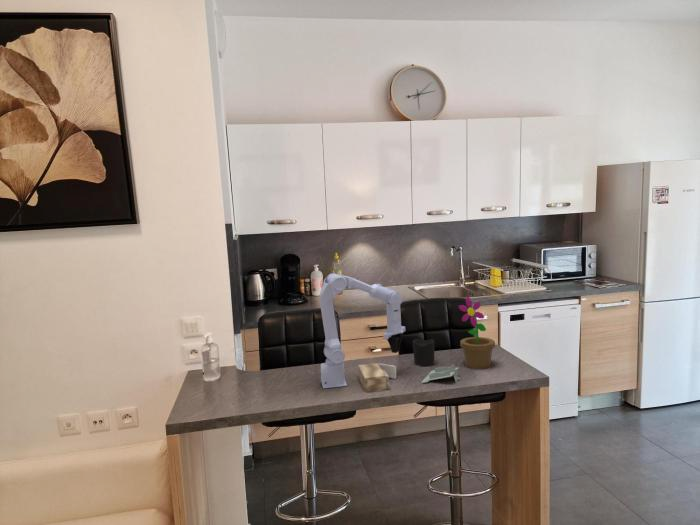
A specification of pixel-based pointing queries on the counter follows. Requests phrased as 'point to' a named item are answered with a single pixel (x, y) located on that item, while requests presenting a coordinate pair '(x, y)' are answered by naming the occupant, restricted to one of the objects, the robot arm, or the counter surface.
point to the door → (389, 370)
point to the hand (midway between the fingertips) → (395, 351)
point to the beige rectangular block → (373, 377)
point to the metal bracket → (442, 373)
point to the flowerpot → (476, 339)
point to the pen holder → (423, 352)
